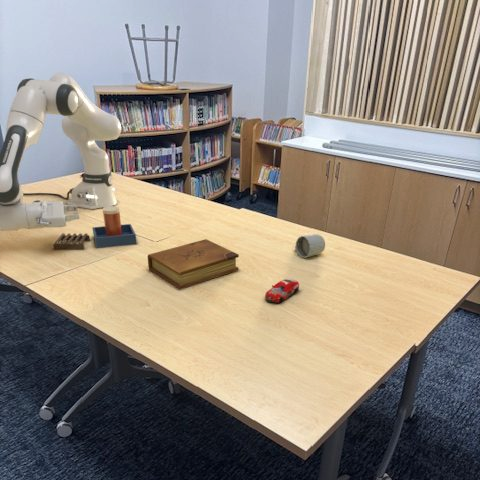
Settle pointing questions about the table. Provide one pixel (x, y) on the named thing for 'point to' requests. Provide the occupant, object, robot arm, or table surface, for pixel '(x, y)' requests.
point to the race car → (282, 290)
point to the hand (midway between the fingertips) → (78, 212)
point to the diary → (192, 263)
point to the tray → (114, 237)
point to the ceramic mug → (310, 245)
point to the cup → (112, 221)
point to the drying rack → (70, 239)
